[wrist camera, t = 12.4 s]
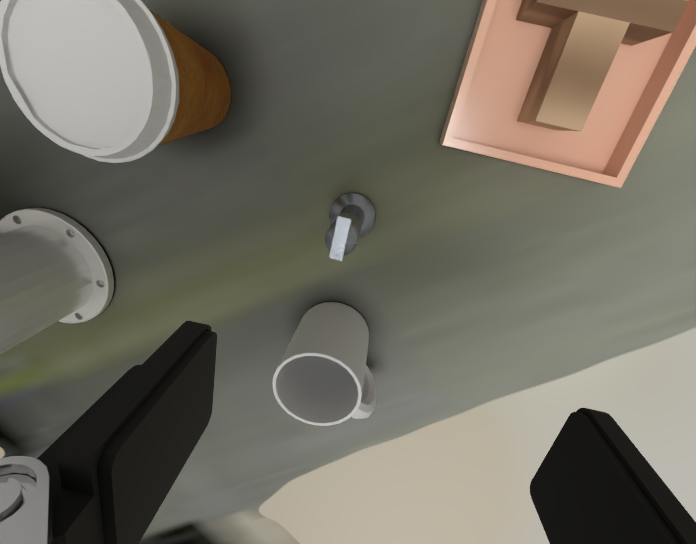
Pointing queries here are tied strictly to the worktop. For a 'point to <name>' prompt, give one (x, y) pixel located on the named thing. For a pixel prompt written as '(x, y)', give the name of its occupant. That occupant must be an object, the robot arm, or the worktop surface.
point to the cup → (327, 368)
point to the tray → (604, 118)
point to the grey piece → (348, 223)
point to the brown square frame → (585, 51)
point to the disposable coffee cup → (108, 76)
